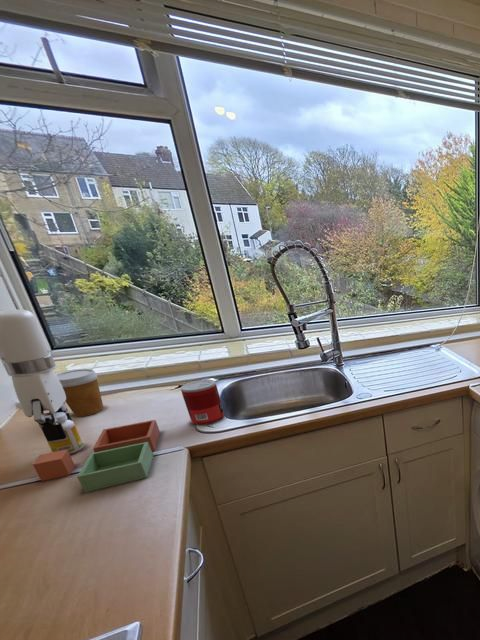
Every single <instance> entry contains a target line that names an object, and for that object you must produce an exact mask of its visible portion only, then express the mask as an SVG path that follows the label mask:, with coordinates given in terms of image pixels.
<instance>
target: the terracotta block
mask: <svg viewBox="0 0 480 640" xmlns="http://www.w3.org/2000/svg"><path fill="white" fill-rule="evenodd" d="M32 466H33V469H34V470H35V472H36V474H37V476H38V477H39V480H40V482H45V481H50V480H54V479H59V478H64V477H68V476H70V475H71V474H72V471H73V470H74V468H75V467H76V464H75V463H74V460H73V458H72V456H71V454H69V452H68V450H62V451H57V452H52V451H51V452H48V453H43V454H39V455H38V457H37V458H36V459H35V460H34V462H33V463H32Z"/></svg>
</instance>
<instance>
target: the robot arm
mask: <svg viewBox="0 0 480 640" xmlns="http://www.w3.org/2000/svg"><path fill="white" fill-rule="evenodd" d="M0 361H1V362H2V365H3V367H4V369H5V371H6V374H7V375H8V376H9V377H11V380H12V384H13V388H14V391H15V394H16V397H17V399H18V402H19V405H20V407H21V409H22V412H23V414H24V416H25V417H26V418H32V417H33V421H34V422H36V423H37V424H38V426H39V427H40V429H41V431H42V434H43V436H44V435H45V436H44V437H46V438H45V440H46V439H47V440H46V442H47V441H55V440H61V439H65V438H66V437H67V436H66V434H65V432H64V429H63V427H62V425H61V423H58V420H57V417H56V413H58V412H64V413H65V414H66V416H67V420H71V421H73V419H72V416H71V414H70V412H69V408H68V407H67V406H66V402H65V401H66V395H65V392H64V389H63V387H62V385H61V383H60V380H59V378H58V377H57V373H56V371H55V369H56V368H57V363H56V362H55V360H54V357H53V355H52V352H51V350H50V347H49V346H48V343H47V341H46V339H45V336H44V334H43V331H42V329H41V327H40V325H39V322H38V320H37V317H36V315H35V314H34V313H33V312H31V311H30V310H27V309H17V308H16V309H4V310H3V309H2V310H0ZM47 411H48V412H47ZM48 415H51V419H50V418H46V417H45V416H48Z"/></svg>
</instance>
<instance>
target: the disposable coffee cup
mask: <svg viewBox="0 0 480 640" xmlns="http://www.w3.org/2000/svg"><path fill="white" fill-rule="evenodd" d="M56 375H57V377H58V378H59V380H60V383H61V385H62V387H63V389H64V392H65V395H66V401H65V402H64V403H65V404H67V406H68V408H69V409H70V410H71V412H72V413H73V415H74V416H75V417H86V416H92V415H94V414H97V413H99V412H102V411H103V410H105V407H104V403H103V399H102V395H101V390H100V385H99V382H98V375H99V374H98V372H95V370H94V369H93V368H80V369H73V370H67V371H63V372H60V373H56Z"/></svg>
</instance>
